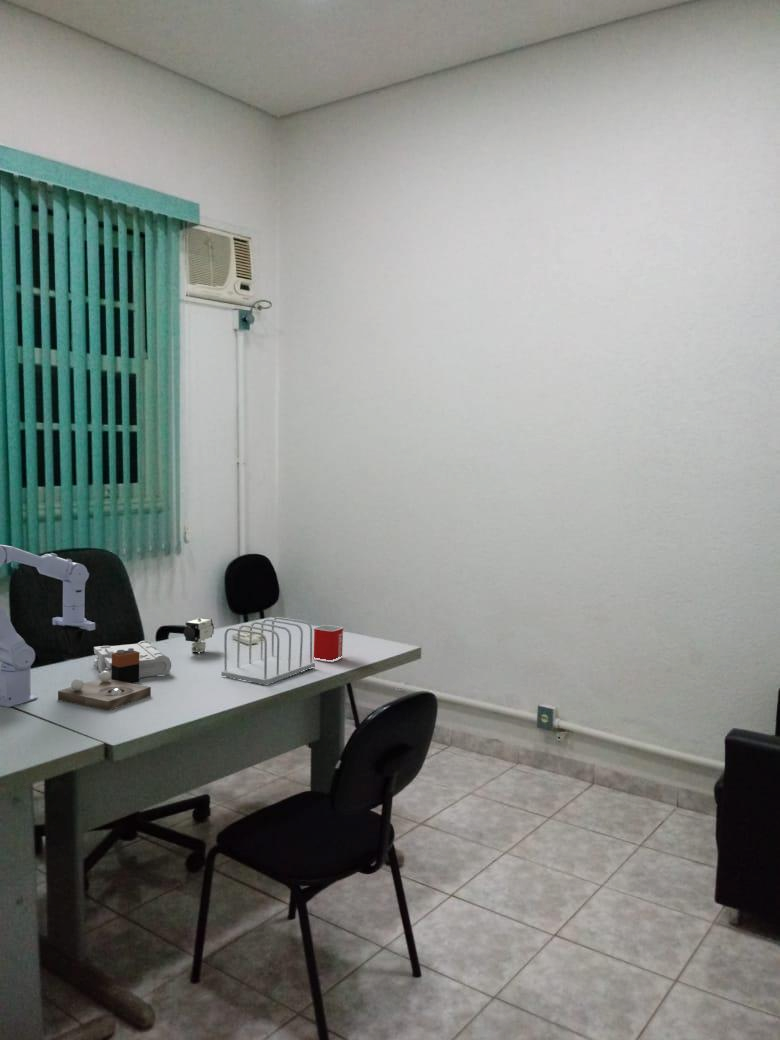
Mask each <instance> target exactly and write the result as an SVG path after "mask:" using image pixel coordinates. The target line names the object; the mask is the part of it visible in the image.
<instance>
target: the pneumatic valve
mask: <svg viewBox="0 0 780 1040" xmlns="http://www.w3.org/2000/svg"><path fill="white" fill-rule="evenodd" d="M214 626H215V625H214V623H213V619H212V618H211V619H210V618H204V617H199V616H198V617H197V618H196V619H193V620H190V621H186V622H185V628H184V629H183V636H184V638H185V642H192V643H191V653H192V652H203V651H205V650H206V647H207V646H206V642H205V641H206V640H207V639H210V638H212V637H213V635H214V632H215V627H214ZM205 652H206V651H205ZM203 653H204V652H203Z"/></svg>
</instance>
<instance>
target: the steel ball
mask: <svg viewBox="0 0 780 1040" xmlns="http://www.w3.org/2000/svg"><path fill="white" fill-rule="evenodd" d="M117 693H122V691H121V690H120V689H114V690H112V691H111V694H117Z"/></svg>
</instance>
